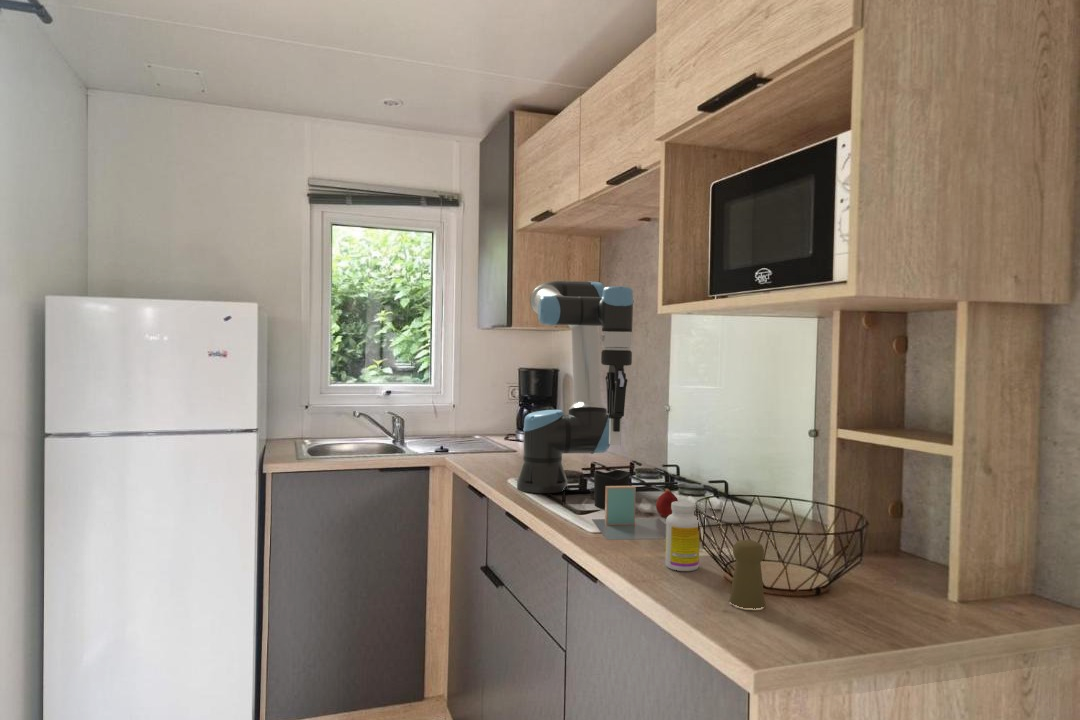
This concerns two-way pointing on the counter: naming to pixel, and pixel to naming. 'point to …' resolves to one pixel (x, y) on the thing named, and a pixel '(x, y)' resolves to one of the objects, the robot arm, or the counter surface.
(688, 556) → the supplement bottle
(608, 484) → the pen holder
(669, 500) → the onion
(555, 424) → the robot arm
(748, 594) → the cork
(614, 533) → the slate board
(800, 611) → the counter surface
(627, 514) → the tile
